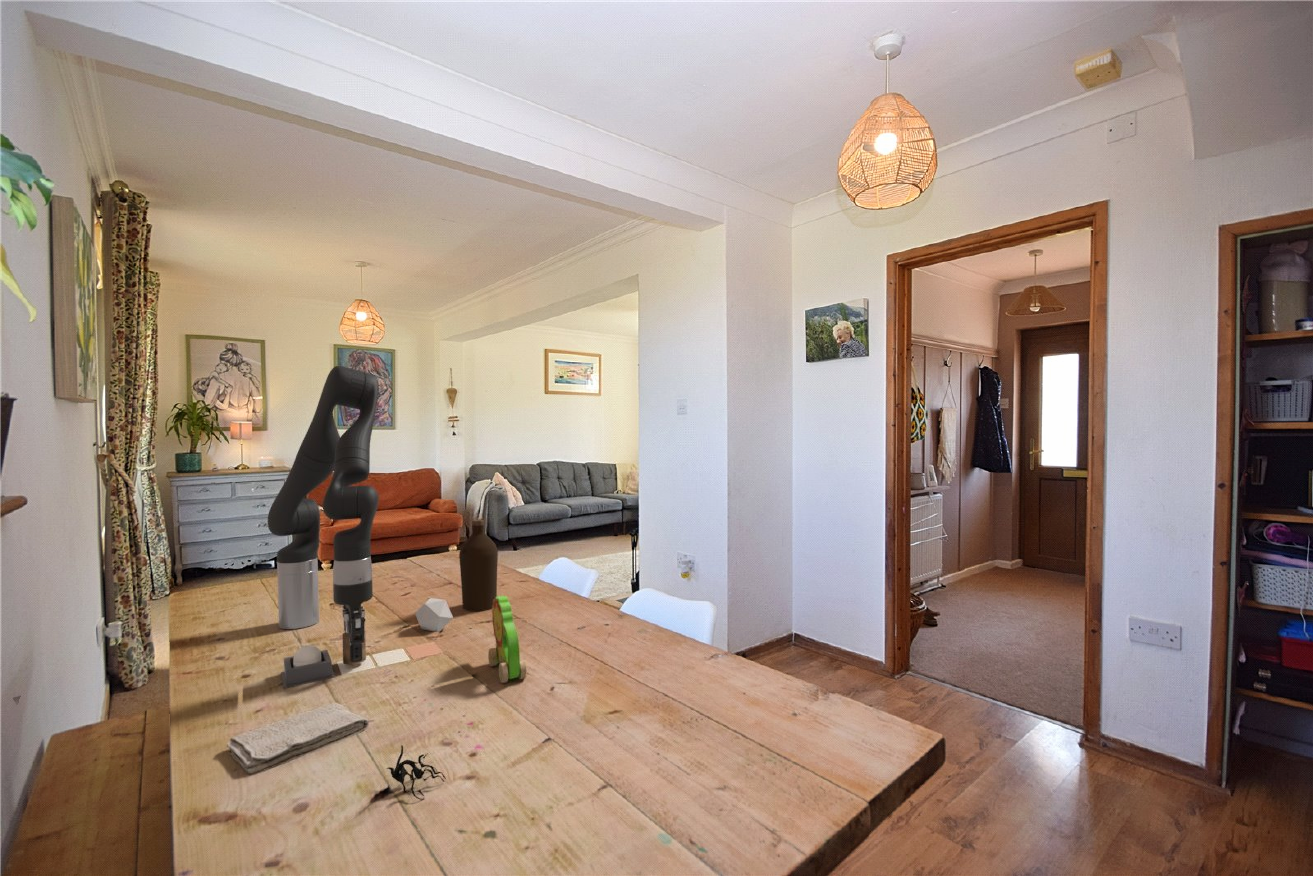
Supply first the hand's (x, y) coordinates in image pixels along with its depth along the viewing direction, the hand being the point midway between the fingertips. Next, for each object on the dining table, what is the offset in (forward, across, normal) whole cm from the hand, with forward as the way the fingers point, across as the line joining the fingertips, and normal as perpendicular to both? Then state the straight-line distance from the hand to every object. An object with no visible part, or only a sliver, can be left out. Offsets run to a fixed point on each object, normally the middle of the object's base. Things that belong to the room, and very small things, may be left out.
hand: (354, 657), depth 128 cm
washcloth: (+3, -27, +12) cm, 30 cm away
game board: (+2, 0, -7) cm, 8 cm away
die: (+3, +15, -20) cm, 25 cm away
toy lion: (+2, -20, -26) cm, 33 cm away
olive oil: (+3, +28, -36) cm, 46 cm away
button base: (+2, 0, +9) cm, 9 cm away
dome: (+1, 0, +9) cm, 9 cm away
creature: (+2, -52, -2) cm, 52 cm away
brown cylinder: (+1, 0, 0) cm, 1 cm away
